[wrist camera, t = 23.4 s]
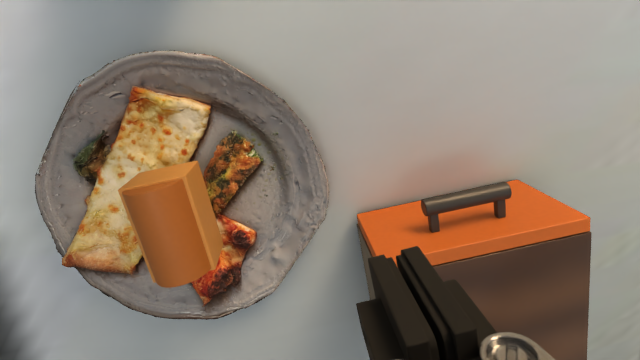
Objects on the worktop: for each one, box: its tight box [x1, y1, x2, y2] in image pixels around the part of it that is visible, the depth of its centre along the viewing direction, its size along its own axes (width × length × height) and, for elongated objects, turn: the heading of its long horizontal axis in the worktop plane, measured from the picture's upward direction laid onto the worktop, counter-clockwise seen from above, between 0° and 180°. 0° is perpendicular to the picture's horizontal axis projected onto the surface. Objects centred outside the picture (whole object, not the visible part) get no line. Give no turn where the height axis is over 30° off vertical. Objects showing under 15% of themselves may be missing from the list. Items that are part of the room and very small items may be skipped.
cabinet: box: [357, 224, 591, 360], centre depth 36 cm, size 14×17×10 cm
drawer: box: [357, 180, 590, 268], centre depth 35 cm, size 17×16×10 cm
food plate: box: [35, 50, 329, 320], centre depth 34 cm, size 25×23×4 cm
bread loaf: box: [118, 161, 223, 288], centre depth 30 cm, size 8×5×6 cm, turn 11°
